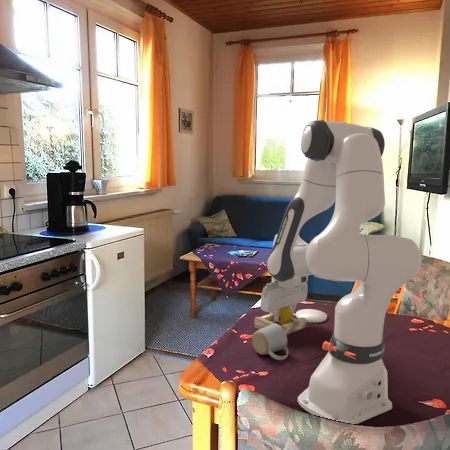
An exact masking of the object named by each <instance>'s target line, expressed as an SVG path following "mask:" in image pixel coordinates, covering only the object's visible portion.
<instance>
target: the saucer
mask: <svg viewBox="0 0 450 450" xmlns="http://www.w3.org/2000/svg"><path fill="white" fill-rule="evenodd" d="M295 317H296V318H295V319H299V318H302V317H303V318H306V323H312V324H313V323H314V324H316V323H317V324H318V323H319V322H320V323H323V321H324V322H326V321H327V319H328V314H327V313H325V312H324V311H321V310H318V309H312V308H305V309H304V308H303V309H299V310H297V311H296V312H295Z"/></svg>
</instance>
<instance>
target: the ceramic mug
mask: <svg viewBox="0 0 450 450" xmlns="http://www.w3.org/2000/svg"><path fill="white" fill-rule="evenodd" d="M278 324H279V323H276V324H271V325H269V326H267V327H264V328H262V329H257V331H255V332H253V334H252V336H251V344H252V346H253V348H254V350H255V352H256V353H258V354H259V355H262V356H264V355H265V356H266V355H269V356H270V357H271V358H273V359H274V360H276V361H284V360H286V359H287V358H288V355H289V348H288V346H287V345H288V335H286V333H285V331H284V329H283V328H282V327H281V326H280V325H281V324H279V325H278ZM283 350H284V352H285V355H277V354H275V353H276V352H278V351H283Z"/></svg>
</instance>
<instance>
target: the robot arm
mask: <svg viewBox="0 0 450 450" xmlns="http://www.w3.org/2000/svg"><path fill="white" fill-rule="evenodd" d="M385 142H386V141H385V137H384V135H383V133H382V131H381V130H378V129H377V128H374V127H372V126H363V125H360V124H355V123H348V122H346V121H335V120H334V121H333V120H331V121H330V120H329V121H328V120H327V121H326V120H324V119H321V120H320V119H319V120H318V119H317V120H312V121H310V122H308V124H306V125H305V127H304V129H303V131H302V135H301V141H300V147H301V148H300V149H301V152H302V153H303V156H304V157H305V158H307V161H306V164H305V168H304V171H303V175H302V178H301V183H300V185H299V188H298V190H297V192H296V193H295V195H294V197H293V198H292V199H291V200H289V201H290V202H289V203H288V205H287V207H286V209H285V211H284V214H283V218H282V220H281V223H280V226H279V230H278V232H277V233H276V234H275V235H274V239H273V243H272V247H271V250H270V252H269V253H268V256H267V259H266V269H267V273H268V274H270V276H271V282H269V283H266V284H265V286H263V289H262V291H261V296H260V297H261V298H260V310H262V311H264V312H266V313H272V314H273V316H274V321H276V322H275V323H278V321H280V318H281V316H279V315H278V312H279V309H281V308H284V307H287V306H289V307H290V308H291V310H292V317H294V316H295V310H296V308H297V304H298V303H301V302H304V301H305V302H306V299H307V297H308V281H309V277H308V276H311V275H313V276H314V277H315V278H319V279H322V280H327V281H333V282H354V283H355V282H356V283H359V282H361V283H360V285H359V286H358V287H357V289H355V290H354V291H353V292H350V293H348V294H346V295H344V296H343V297H341V298H340V300H338V302H337V303H336V305H335V307H334V324H333V325H334V327H333V328H334V329H333V333H332V336H331V338H330V339H329V341H327V340H325V341H324V342H323V343H322V347H321V348H322V350H323V351H328V352H327V353H326V354H325V356H324V357H323V359H322V361H320V363H319V365H318V366H317V368H316V369H315V370H314V372H313V373H312V374H311V375H310V379H309V384H308V387H307V388H306V389H304V391H302V392H301V393H300V394H299V395H298V396H297V402H298V405H300V407H301V408H303V410H305V411H306V412H308V413H309V414H311V415H313V416H314V415H316V416H320V417H324V418H328V419H332V420H336V421H341V422H345V423H351V424H356V425H357V424H360V423H363V422H364V421H367V420H369V419H371V418H373V417H376V416H378V415H381V414H383V413H386V412H388V411H390V410H392V409H393V402H392V401H391V400H390V398H389V397H388V395H389V394H388V393H389V392H388V385H389V384H388V371H387V368H386V366H385V364H384V361H383V360H384V359H383V357H384V355H385V353H384V352H385V340H384V338H383V336H384V334H383V333H384V326H385V318H386V313H387V309H388V307H389V304H390V302H391V300H393V298H394V297H393V296H394V295H395V294H396V293H397V292H398V291H399V289H401V287H403V286H404V285H405V284H407V283H408V282H410V281H411V280H413V279H414V278H415V277H416V276H417V275H418V274H419V271H420V269H421V267H422V253H421V250H420V248H419V245H417V243H416V242H415V241H414V240H413V239H412V238H406V237H403V236H398V235H392V234H363V233H361V225H362V224H363V223H367V222H368V221H371V220H372V219H375V218H376V217H378V216H380V214H381V213H382V212H383V211H384V209H385V205H386V195H385V179H384V178H385V175H384V167H383V159H382V156H383V155H384V151H385V146H386V143H385ZM334 204H335V205H334ZM333 205H334V212H333V214H332V217H331V219H330V221H329V223H328V224H327V226H325V228H324V230H322V231H321V232H320V233H319V234H318V235H316V236H314V237H313V238H312V239H311V240H310V242H309V243H307V242H306V241H305V240H303V239H302V238H301V237H300V232H301V229H302V228H303V225H305V223H306V222H307V221H309V220H310V219H311V218H313V217H315V216H317V215H318V214H320V213H322V212H325V211H326V210H328V209H330V208H331V207H333ZM316 416H315V417H316Z"/></svg>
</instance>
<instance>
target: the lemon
mask: <svg viewBox="0 0 450 450" xmlns="http://www.w3.org/2000/svg"><path fill="white" fill-rule="evenodd" d="M278 315H279V316H281V318H280V321H278V322H277V324H279V325H283V324H286V323H289V322H291V319H292V318H293V316H292V310H291V308H290V306H287V307H284V308H281V309H279V312H278Z"/></svg>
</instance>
